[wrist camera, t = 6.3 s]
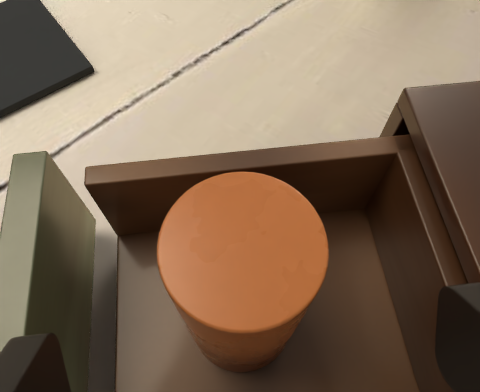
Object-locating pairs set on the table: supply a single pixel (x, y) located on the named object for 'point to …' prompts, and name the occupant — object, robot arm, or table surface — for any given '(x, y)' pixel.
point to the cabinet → (447, 157)
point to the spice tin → (242, 265)
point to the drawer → (166, 314)
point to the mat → (34, 55)
